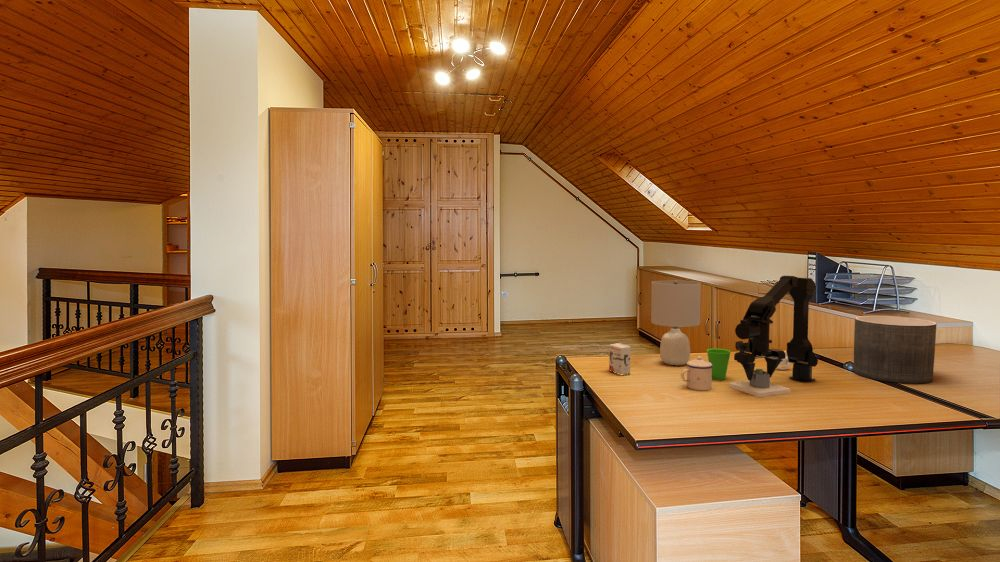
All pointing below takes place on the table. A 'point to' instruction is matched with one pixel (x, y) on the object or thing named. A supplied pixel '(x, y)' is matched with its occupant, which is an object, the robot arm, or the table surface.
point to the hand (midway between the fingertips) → (759, 378)
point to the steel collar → (760, 380)
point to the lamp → (675, 316)
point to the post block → (759, 392)
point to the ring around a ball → (784, 363)
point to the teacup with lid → (698, 374)
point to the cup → (718, 362)
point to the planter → (894, 349)
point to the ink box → (619, 358)
